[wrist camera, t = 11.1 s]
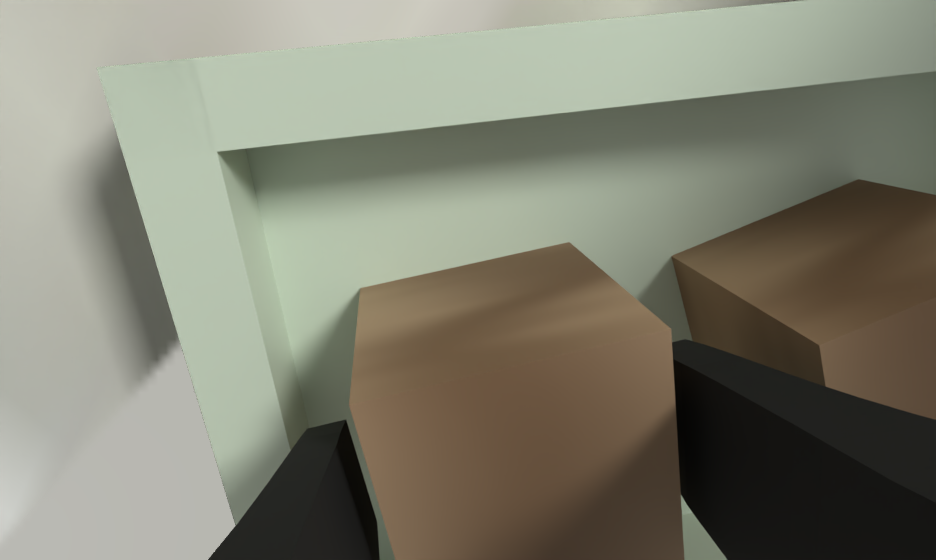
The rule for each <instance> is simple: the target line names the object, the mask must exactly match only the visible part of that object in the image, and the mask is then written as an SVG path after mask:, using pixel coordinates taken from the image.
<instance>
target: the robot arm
mask: <svg viewBox="0 0 936 560" xmlns="http://www.w3.org/2000/svg"><path fill="white" fill-rule="evenodd" d="M672 351H673V368H674V386H675V403H676V421H677V438H678V456H679V473H680V491H681V496H682V497H683V499H684V501H685V502H686V504H687V506H688V507H689V508H690V510H691V511H692V513H693V514H694V515H695V517H696V518H697V520H698V521H699V522H700V524H701V525H702V526H703V528H704V529H705V530H706V532H707V533H708V534H709V536H710V537H711V538H712V540H713V541H714V542H715V544H716V545H717V547H718V548H719V549H720V551H721V552H722V553H723V555H724V556H725V557H726V559H727V560H936V420H935V419H931V418H928V417H924V416H920V415H917V414H913V413H909V412H906V411H903V410H899V409H896V408H893V407H890V406H886V405H883V404H880V403H876V402H873V401H870V400H866V399H863V398H860V397H856V396H853V395H850V394H847V393H844V392H841V391H838V390H835V389H832V388H828V387H825V386H823V385H820V384H817V383H814V382H811V381H808V380H805V379H802V378H799V377H796V376H793V375H790V374H788V373H785V372H782V371H779V370H776V369H773V368H771V367H768V366H765V365H762V364H759V363H757V362H754V361H751V360H748V359H745V358H743V357H740V356H737V355H734V354H731V353H728V352H726V351H723V350H720V349H717V348H714V347H711V346H708V345H705V344H701V343H698V342H694V341H691V340H687V339H684V340H680V341H675V342H672ZM208 560H380V556H379V541H378V526H377V520H376V516H375V513H374V510H373V506H372V503H371V500H370V496H369V493H368V490H367V487H366V483H365V480H364V477H363V473H362V470H361V467H360V463H359V460H358V457H357V454H356V450H355V447H354V444H353V440H352V437H351V434H350V431H349V427H348V424H347V421H346V420H341V421H337V422H333V423H329V424H324V425H320V426H316V427H312V428H307V429H306V431H305V432H304V433H303V434H302V436H301V437H300V438H299V440H298V441H297V443H296V444H295V445H294V447H293V448H292V450H291V451H290V452H289V454H288V455H287V457H286V458H285V459H284V461H283V462H282V464H281V465H280V466H279V468H278V469H277V471H276V472H275V473H274V475H273V476H272V478H271V479H270V480H269V482H268V483H267V485H266V486H265V487H264V489H263V490H262V491H261V493H260V494H259V495H258V497H257V498H256V499H255V501H254V502H253V503H252V505H251V506H250V507H249V509H248V510H247V511H246V513H245V514H244V516H243V517H242V518H241V520H240V521H239V522H238V524H237V525H236V526H235V527H234V529H233V530H232V531H231V532H230V534H229V535H228V536H227V537H226V538H225V540H224V541H223V542H222V543H221V545H220V546H219V547H218V548H217V549H216V551H215V552H214V553H213V554H212V556H211V557H210V558H209V559H208Z"/></svg>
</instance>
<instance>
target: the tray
mask: <svg viewBox="0 0 936 560" xmlns="http://www.w3.org/2000/svg"><path fill="white" fill-rule="evenodd" d="M97 70H98V74H99V77H100V80H101V83H102V87H103V90H104V93H105V97H106V100H107V103H108V107H109V110H110V113H111V116H112V120H113V123H114V126H115V130H116V133H117V136H118V140H119V143H120V146H121V149H122V153H123V156H124V159H125V163H126V166H127V169H128V172H129V176H130V179H131V182H132V186H133V189H134V192H135V196H136V199H137V202H138V205H139V209H140V212H141V215H142V219H143V222H144V225H145V229H146V232H147V235H148V238H149V242H150V245H151V248H152V252H153V255H154V258H155V261H156V265H157V268H158V271H159V275H160V278H161V281H162V285H163V288H164V291H165V294H166V298H167V301H168V304H169V308H170V311H171V314H172V318H173V321H174V324H175V327H176V331H177V334H178V337H179V341H180V344H181V347H182V351H183V354H184V357H185V360H186V364H187V367H188V370H189V374H190V377H191V380H192V383H193V387H194V390H195V393H196V396H197V400H198V403H199V407H200V410H201V413H202V416H203V420H204V423H205V426H206V429H207V433H208V436H209V440H210V443H211V446H212V449H213V452H214V456H215V459H216V463H217V466H218V469H219V472H220V476H221V479H222V482H223V486H224V489H225V492H226V496H227V499H228V502H229V505H230V509H231V512H232V515H233V519H234V522H235V525H237V524H238V522H239V521H240V520H241V518H242V517H243V516H244V514H245V513H246V511H247V510H248V509H249V507H250V506H251V505H252V503H253V502H254V501H255V499H256V498H257V497H258V495H259V494H260V493H261V491H262V490H263V489H264V487H265V486H266V485H267V483H268V482H269V480H270V479H271V478H272V476H273V475H274V473H275V472H276V471H277V469H278V468H279V466H280V465H281V464H282V462H283V461H284V459H285V458H286V457H287V455H288V454H289V452H290V451H291V450H292V448H293V447H294V445H295V444H296V443H297V441H298V440H299V438H300V437H301V436H302V434H303V433H304V432H305V431H306V429H307V428H312V427H316V426H320V425H324V424H329V423H333V422H337V421H341V420H346V421H347V424H348V427H349V431H350V434H351V437H352V440H353V444H354V447H355V450H356V454H357V457H358V460H359V463H360V467H361V470H362V473H363V477H364V480H365V483H366V487H367V490H368V493H369V496H370V500H371V503H372V506H373V510H374V513H375V516H376V520H377V526H378V541H379V556H380V560H395V557H394V554H393V550H392V547H391V544H390V540H389V537H388V534H387V530H386V527H385V524H384V520H383V517H382V514H381V510H380V507H379V504H378V500H377V497H376V494H375V490H374V487H373V484H372V480H371V477H370V474H369V470H368V467H367V464H366V460H365V457H364V454H363V450H362V447H361V444H360V440H359V437H358V434H357V430H356V427H355V424H354V420H353V417H352V414H351V410H350V407H349V399H350V388H351V378H352V368H353V357H354V347H355V337H356V327H357V316H358V306H359V296H360V288H363V287H368V286H372V285H377V284H381V283H386V282H390V281H395V280H399V279H404V278H408V277H413V276H418V275H422V274H427V273H431V272H436V271H440V270H445V269H449V268H454V267H458V266H463V265H467V264H472V263H476V262H481V261H485V260H490V259H495V258H499V257H504V256H508V255H513V254H517V253H522V252H526V251H531V250H535V249H540V248H544V247H549V246H553V245H558V244H562V243H567V242H570V243H571V244H572V245H573V246H575V247H576V248H577V249H578V250H579V251H581V252H582V253H583V254H584V255H585V256H586V257H588V258H589V259H590V260H591V261H592V262H593V263H595V264H596V265H597V266H598V267H599V268H600V269H602V270H603V271H604V272H605V273H606V274H607V275H609V276H610V277H611V278H612V279H613V280H615V281H616V282H617V283H618V284H619V285H620V286H622V287H623V288H624V289H625V290H626V291H627V292H629V293H630V294H631V295H632V296H633V297H634V298H636V299H637V300H638V301H639V302H640V303H641V304H643V305H644V306H645V307H646V308H647V309H648V310H650V311H651V312H652V313H653V314H654V315H656V316H657V317H658V318H659V319H660V320H661V321H663V322H664V323H665V324H666V325H667V326H668V327H670V328H671V334H672V342H675V341H680V340H684V339H687V340H691V341H692V337H691V333H690V329H689V325H688V321H687V317H686V313H685V309H684V305H683V301H682V297H681V293H680V289H679V285H678V281H677V277H676V273H675V269H674V265H673V261H672V257H671V256H673V255H675V254H677V253H680V252H682V251H685V250H687V249H690V248H692V247H694V246H697V245H699V244H702V243H704V242H707V241H709V240H711V239H714V238H716V237H719V236H721V235H724V234H726V233H728V232H731V231H733V230H736V229H738V228H741V227H743V226H746V225H748V224H750V223H753V222H755V221H758V220H760V219H763V218H765V217H767V216H770V215H772V214H775V213H777V212H780V211H782V210H784V209H787V208H789V207H792V206H794V205H797V204H799V203H802V202H804V201H806V200H809V199H811V198H814V197H816V196H819V195H821V194H823V193H826V192H828V191H831V190H833V189H836V188H838V187H840V186H843V185H845V184H848V183H850V182H853V181H855V180H857V179H861V180H865V181H870V182H875V183H880V184H885V185H890V186H895V187H900V188H904V189H909V190H914V191H919V192H924V193H929V194H934V195H936V0H801V1H791V2H780V3H770V4H759V5H749V6H738V7H728V8H717V9H707V10H696V11H686V12H675V13H665V14H654V15H643V16H633V17H622V18H612V19H601V20H591V21H580V22H570V23H559V24H549V25H538V26H528V27H517V28H507V29H496V30H485V31H475V32H464V33H454V34H443V35H433V36H422V37H412V38H401V39H391V40H380V41H370V42H359V43H349V44H338V45H327V46H317V47H306V48H296V49H285V50H275V51H264V52H254V53H243V54H233V55H222V56H212V57H201V58H191V59H180V60H169V61H159V62H148V63H138V64H127V65H117V66H106V67H97ZM681 508H682V526H683V543H684V560H727V559H726V557H725V556H724V555H723V553H722V552H721V551H720V549H719V548H718V547H717V545H716V544H715V542H714V541H713V540H712V538H711V537H710V536H709V534H708V533H707V532H706V530H705V529H704V528H703V526H702V525H701V524H700V522H699V521H698V520H697V518H696V517H695V515H694V514H693V513H692V511H691V510H690V508H689V507H688V506H687V504H686V502H685V501H684V499H683V497H682V496H681Z"/></svg>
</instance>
